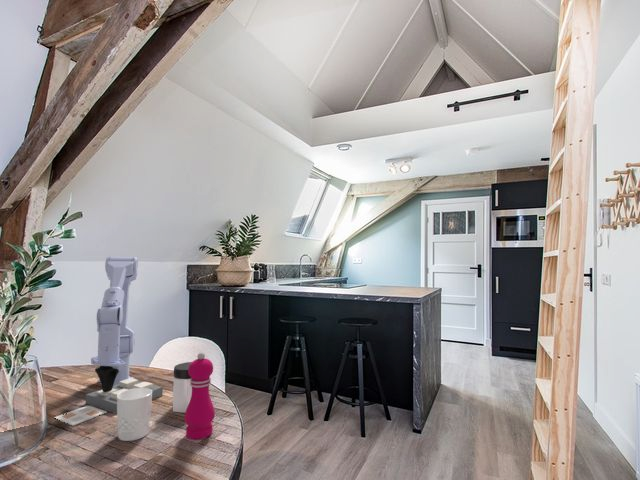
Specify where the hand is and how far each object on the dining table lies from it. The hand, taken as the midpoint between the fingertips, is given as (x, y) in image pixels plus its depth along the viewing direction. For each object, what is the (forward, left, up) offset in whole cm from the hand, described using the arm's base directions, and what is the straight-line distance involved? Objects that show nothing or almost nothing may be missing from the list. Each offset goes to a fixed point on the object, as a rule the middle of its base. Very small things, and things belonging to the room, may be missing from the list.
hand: (107, 390), depth 110 cm
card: (+4, -10, -3) cm, 11 cm away
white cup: (+26, -10, -3) cm, 28 cm away
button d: (+7, +7, -1) cm, 10 cm away
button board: (+4, +3, -3) cm, 6 cm away
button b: (0, +7, -1) cm, 7 cm away
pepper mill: (+40, -2, -3) cm, 40 cm away
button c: (+7, 0, -1) cm, 7 cm away
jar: (+25, +8, -3) cm, 27 cm away
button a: (0, 0, -2) cm, 2 cm away
